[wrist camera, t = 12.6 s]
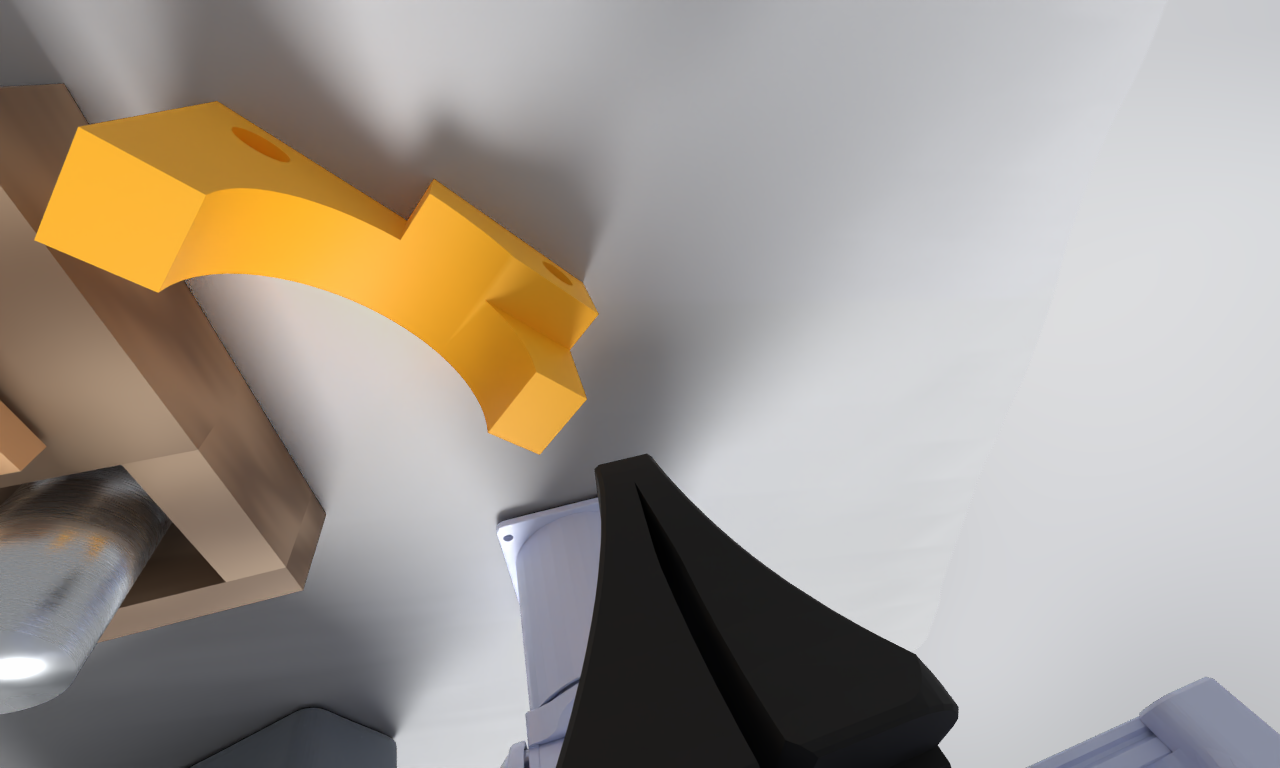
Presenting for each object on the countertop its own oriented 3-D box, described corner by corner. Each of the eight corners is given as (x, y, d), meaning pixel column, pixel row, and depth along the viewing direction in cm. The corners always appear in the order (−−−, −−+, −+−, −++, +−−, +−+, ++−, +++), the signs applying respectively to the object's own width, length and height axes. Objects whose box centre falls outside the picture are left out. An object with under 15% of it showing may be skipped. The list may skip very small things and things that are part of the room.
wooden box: (326, 514, 22) (291, 627, 18) (64, 574, 20) (-48, 719, 16) (63, 83, 13) (-150, 99, 8) (-489, 110, 11) (-1170, 151, 6)
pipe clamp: (581, 281, 20) (621, 358, 15) (521, 358, 21) (539, 455, 16) (245, 45, 14) (111, 39, 8) (184, 175, 15) (33, 240, 10)
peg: (219, 490, 20) (109, 688, 14) (102, 511, 19) (-75, 733, 13) (169, 415, 18) (11, 609, 12) (33, 433, 17) (-219, 656, 11)
